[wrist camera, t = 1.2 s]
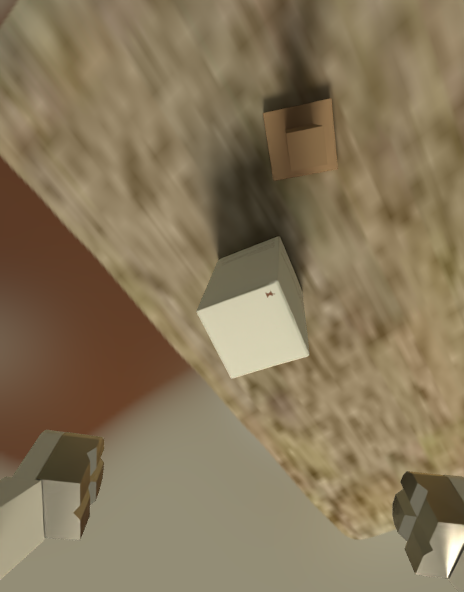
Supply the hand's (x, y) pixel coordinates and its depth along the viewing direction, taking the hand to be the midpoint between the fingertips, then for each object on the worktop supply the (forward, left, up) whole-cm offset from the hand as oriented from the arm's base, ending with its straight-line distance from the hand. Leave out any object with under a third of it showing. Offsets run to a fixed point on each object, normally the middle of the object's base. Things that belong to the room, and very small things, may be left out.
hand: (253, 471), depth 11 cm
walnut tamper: (-3, -6, -33) cm, 34 cm away
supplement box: (+3, +7, -33) cm, 34 cm away
